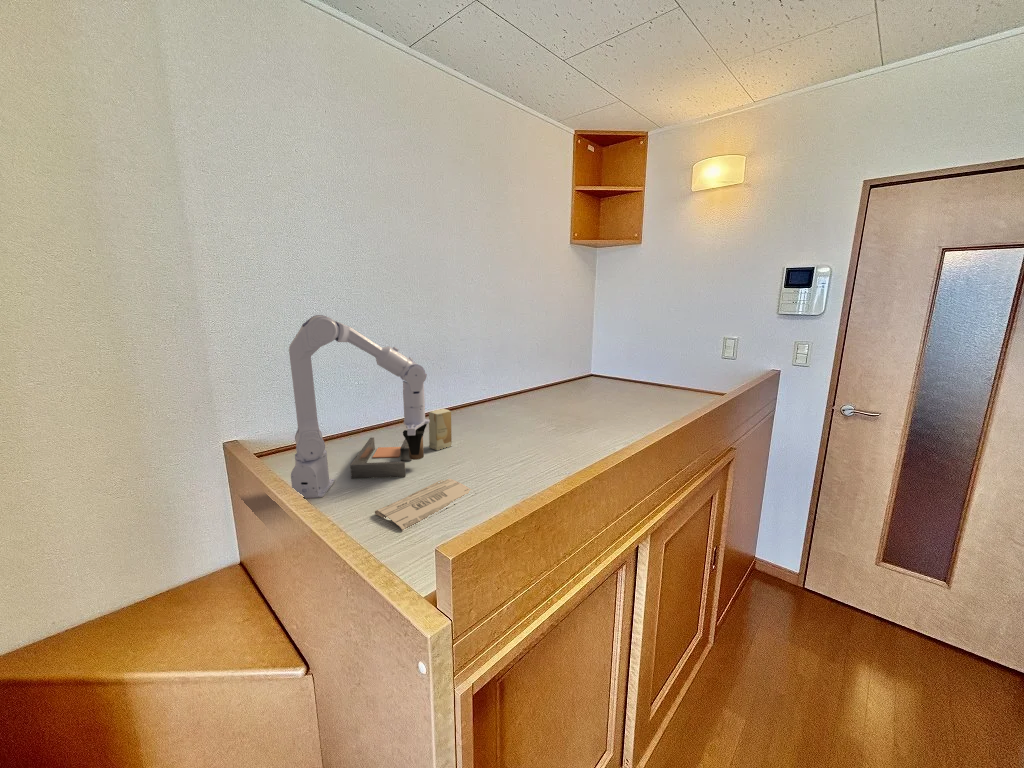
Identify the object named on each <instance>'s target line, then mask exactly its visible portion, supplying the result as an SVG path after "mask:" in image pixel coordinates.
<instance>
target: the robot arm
mask: <svg viewBox="0 0 1024 768" xmlns="http://www.w3.org/2000/svg"><path fill="white" fill-rule="evenodd" d="M334 341H336V343H349V344H351V345H352V346H355V347H357V349H360V350H362V352H366V353H367V354H369V355H371V356H372V357H373V358H374V357H375V362H376V365H377V366H378V367H380V368H382V369H383V370H385V371H388V372H389V373H391V374H393V375H395V376H396V377H400V379H401V380H402V397H403V416H404V417H403V418H404V419H403V425H404V426H405V428H406V429H405V430H403V432H402V435H403V437H404V440H405V439H406V440H407V443H408V445H409V449H410V453H411V455H419V452H420V444H421V438H422V436H423V437H424V433H425V429H426V428H427V425H429V422H430V420H429V418H428V419H427V418H426V408H425V405H426V404H425V386H424V383H425V381H426V380H427V373H426V370H425V369H424V367H423V366H422V365H420V364H419V363H416V362H415V361H414V359H413V358H412V357H410V356H409V357H407V356H405V355H404V354H402V353H400V352H399V348H397V347H396V346H393V347H392V346H384V347H381V346H380V345H379V344H377V343H376V342H374V341H372V340H371V339H369V338H368V337H366V336H365V335H363V334H362V333H360V332H358V331H357V330H355V329H354V328H353V327H350V326H349V325H346V324H344V323H342V322H339V321H336V320H334V319H332V317H331V318H330V317H328V316H326V315H323V314H315V315H313V316H311V317H310V318H308V319H307V320H306V321H304V322H303V323H302V324H301V326H300V329H299V330H298V331H297V333H296V335H295V336H294V338H293V340H292V341H291V343H290V344H289V347H288V352H289V361H290V362H289V364H290V370H291V371H290V372H291V377H292V379H291V381H292V386H293V395H294V396H293V397H294V404H295V405H294V406H295V412H296V423H297V430H296V432H295V434H294V435H295V436H294V441H295V444H296V446H295V450H296V453H295V454H294V461H295V463H294V464H295V465H294V466H293V469H292V470H291V472H290V479H291V480H290V481H291V489H292V488H294V489H295V490H296V491H297V492H299V493H300V494H302V495H303V496H304V497H305V498H306V499H308V498H309V499H310V498H314V499H315V498H323V497H324V496H325V495H326V494H327V492H328V491H329V490H330V489H331V487H332V486H333V485H334V483H335V481H336V479H335V478H330V474H329V473H330V472H329V463H328V454H327V453H328V452H327V450H326V443H325V440H324V438H323V434H322V431H321V430H320V426H319V419H318V411H317V402H316V392H315V391H316V390H315V383H314V374H313V365H312V356H313V355H314V354H315V353H316V352H317V351H319V349H320V348H322V347H324V346H326V345H328V344H330V343H332V342H334ZM305 498H304V499H305Z"/></svg>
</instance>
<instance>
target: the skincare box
mask: <svg viewBox="0 0 1024 768" xmlns="http://www.w3.org/2000/svg"><path fill="white" fill-rule="evenodd" d="M428 419H429V420H430V422H429V423H428V439H429V440H428V441H429V442H428V443H429V444H428V445H429V447H428V448H430V449H433V450H435V451H440V449H441V450H444V449H446V447H447V448H449V446H450V447H452V446H451V445H453V444H452V442H453V441H452V438H453V437H452V410H449V409H446V408H441V409H436V410H432V411H431V410H430V411H428ZM443 448H444V449H443Z"/></svg>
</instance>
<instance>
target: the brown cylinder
mask: <svg viewBox="0 0 1024 768" xmlns="http://www.w3.org/2000/svg"><path fill="white" fill-rule="evenodd" d="M424 453H425V452H424V435H423V436H422V438H421V444H420V452H419V455H411V453H410V449H409V458H410V459H412V460H417V461H418V460H421V459H423V458H424ZM412 460H411V461H412Z"/></svg>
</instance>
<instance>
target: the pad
mask: <svg viewBox="0 0 1024 768" xmlns="http://www.w3.org/2000/svg"><path fill="white" fill-rule="evenodd" d="M400 448H401V446H386V447H385V446H383V447H380V446H379V447H378V448H377V449H375V451H374V452H375V453H374V454H372V455H373V456H372V457H371V458H372V459H386V458H387V459H390V458H394V459H395V458H401V453H400Z"/></svg>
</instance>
